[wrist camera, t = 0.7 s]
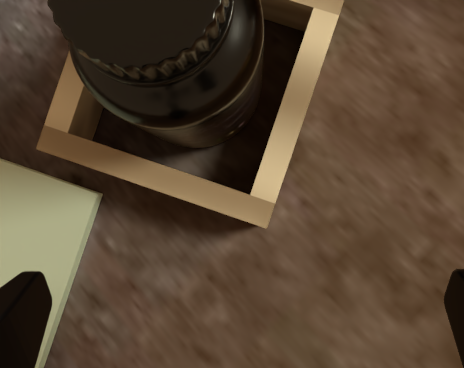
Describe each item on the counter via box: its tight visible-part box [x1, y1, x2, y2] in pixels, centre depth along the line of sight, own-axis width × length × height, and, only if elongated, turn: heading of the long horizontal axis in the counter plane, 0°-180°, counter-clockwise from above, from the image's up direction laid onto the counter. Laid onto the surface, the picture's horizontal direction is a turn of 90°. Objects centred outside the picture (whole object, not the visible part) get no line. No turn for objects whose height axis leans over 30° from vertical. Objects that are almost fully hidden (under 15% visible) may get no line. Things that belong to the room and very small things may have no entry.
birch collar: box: [36, 0, 344, 229], centre depth 21 cm, size 11×11×3 cm
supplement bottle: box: [48, 0, 264, 148], centre depth 17 cm, size 7×7×12 cm
